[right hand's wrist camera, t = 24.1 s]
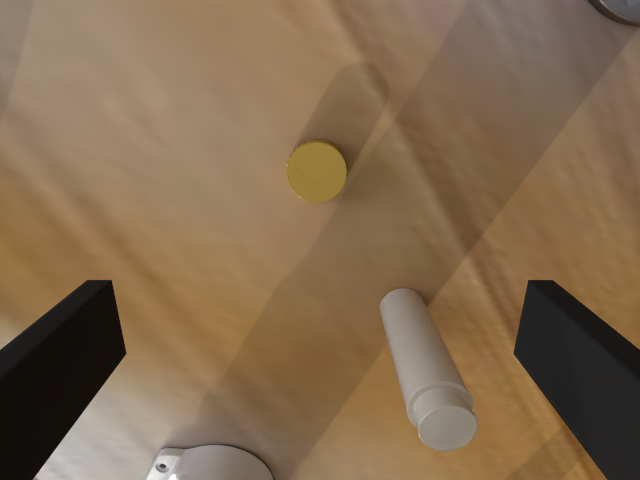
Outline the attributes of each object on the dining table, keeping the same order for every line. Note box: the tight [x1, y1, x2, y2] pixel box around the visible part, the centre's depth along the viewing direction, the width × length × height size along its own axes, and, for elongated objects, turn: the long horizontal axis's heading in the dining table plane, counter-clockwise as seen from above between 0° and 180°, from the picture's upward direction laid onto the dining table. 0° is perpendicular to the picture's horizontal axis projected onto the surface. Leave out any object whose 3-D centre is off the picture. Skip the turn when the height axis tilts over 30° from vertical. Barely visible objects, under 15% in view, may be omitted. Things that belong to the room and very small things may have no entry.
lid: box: [286, 139, 347, 202], centre depth 37 cm, size 6×6×2 cm
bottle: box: [379, 288, 478, 451], centre depth 36 cm, size 5×5×17 cm
